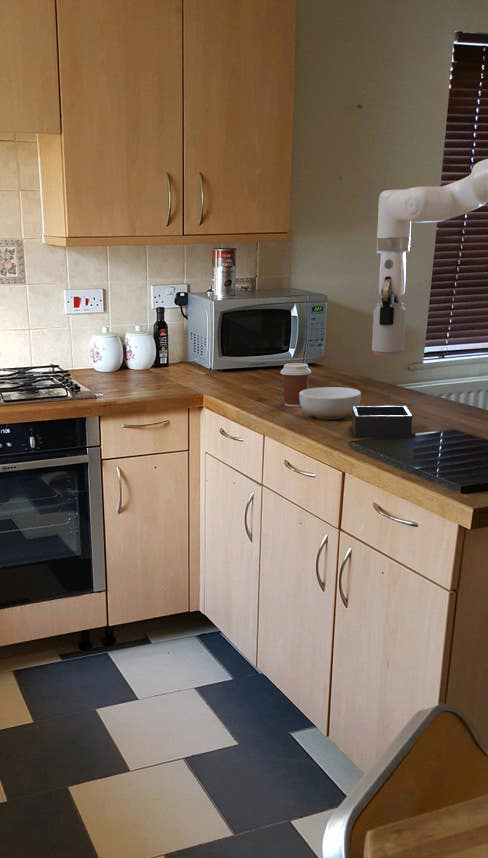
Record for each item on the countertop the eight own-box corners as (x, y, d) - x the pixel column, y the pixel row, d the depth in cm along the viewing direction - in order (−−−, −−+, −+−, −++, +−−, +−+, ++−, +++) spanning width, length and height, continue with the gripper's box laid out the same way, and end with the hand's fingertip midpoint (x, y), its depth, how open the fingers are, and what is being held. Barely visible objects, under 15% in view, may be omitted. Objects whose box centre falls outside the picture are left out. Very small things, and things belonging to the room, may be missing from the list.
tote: (404, 427, 228) (405, 405, 227) (410, 438, 216) (412, 415, 214) (351, 427, 230) (352, 406, 228) (354, 438, 218) (355, 416, 216)
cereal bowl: (287, 415, 249) (288, 390, 246) (338, 409, 254) (339, 385, 252) (319, 425, 234) (320, 399, 231) (372, 419, 239) (373, 393, 237)
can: (365, 354, 214) (367, 303, 210) (383, 351, 219) (385, 301, 215) (392, 356, 209) (394, 304, 205) (409, 352, 213) (412, 302, 210)
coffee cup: (286, 401, 269) (287, 362, 265) (314, 403, 265) (316, 363, 261) (275, 406, 262) (275, 366, 258) (303, 408, 257) (304, 367, 253)
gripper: (403, 246, 197) (399, 326, 202) (414, 245, 212) (410, 320, 217) (370, 247, 199) (366, 326, 205) (383, 246, 215) (379, 320, 220)
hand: (389, 322), depth 211 cm, fingers closed on can, 7 cm apart
